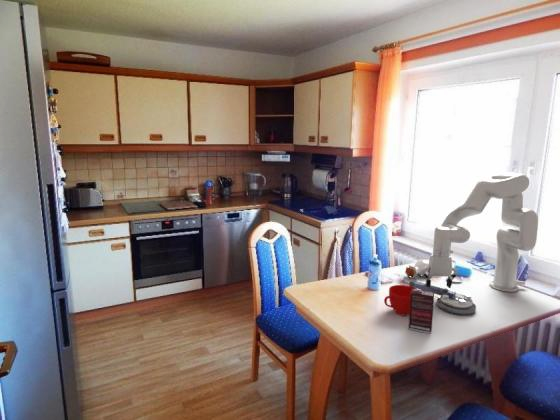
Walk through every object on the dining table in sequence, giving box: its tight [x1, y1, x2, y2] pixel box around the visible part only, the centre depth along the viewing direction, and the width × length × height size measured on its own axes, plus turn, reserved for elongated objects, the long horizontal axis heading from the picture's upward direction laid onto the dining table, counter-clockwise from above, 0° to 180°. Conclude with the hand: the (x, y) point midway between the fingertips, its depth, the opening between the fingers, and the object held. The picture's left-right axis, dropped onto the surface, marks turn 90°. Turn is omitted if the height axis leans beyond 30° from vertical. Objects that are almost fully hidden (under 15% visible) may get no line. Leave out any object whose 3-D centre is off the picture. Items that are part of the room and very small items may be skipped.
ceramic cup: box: [383, 284, 417, 316], centre depth 161 cm, size 13×17×10 cm
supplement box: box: [408, 288, 435, 334], centre depth 147 cm, size 9×5×16 cm, turn 65°
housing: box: [434, 295, 477, 317], centre depth 167 cm, size 16×16×2 cm
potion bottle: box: [404, 258, 429, 278], centre depth 204 cm, size 9×10×15 cm
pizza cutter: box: [408, 279, 474, 309], centre depth 172 cm, size 13×28×5 cm, turn 46°
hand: (438, 286), depth 178 cm, fingers open, 9 cm apart
